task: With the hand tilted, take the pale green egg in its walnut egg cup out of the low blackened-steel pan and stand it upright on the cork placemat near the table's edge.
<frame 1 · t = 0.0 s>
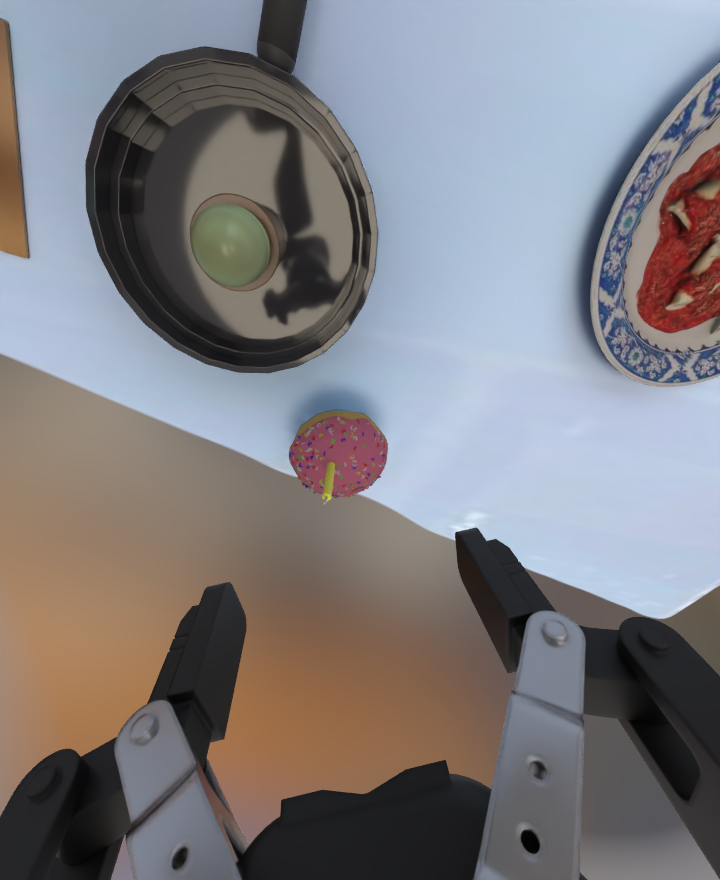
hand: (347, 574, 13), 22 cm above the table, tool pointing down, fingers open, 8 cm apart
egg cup: (250, 240, 25), point 1 cm above the table, touching pan
cupcake: (335, 429, 35), on the table
ceramic plate: (719, 236, 31), on the table
pan: (251, 239, 26), on the table
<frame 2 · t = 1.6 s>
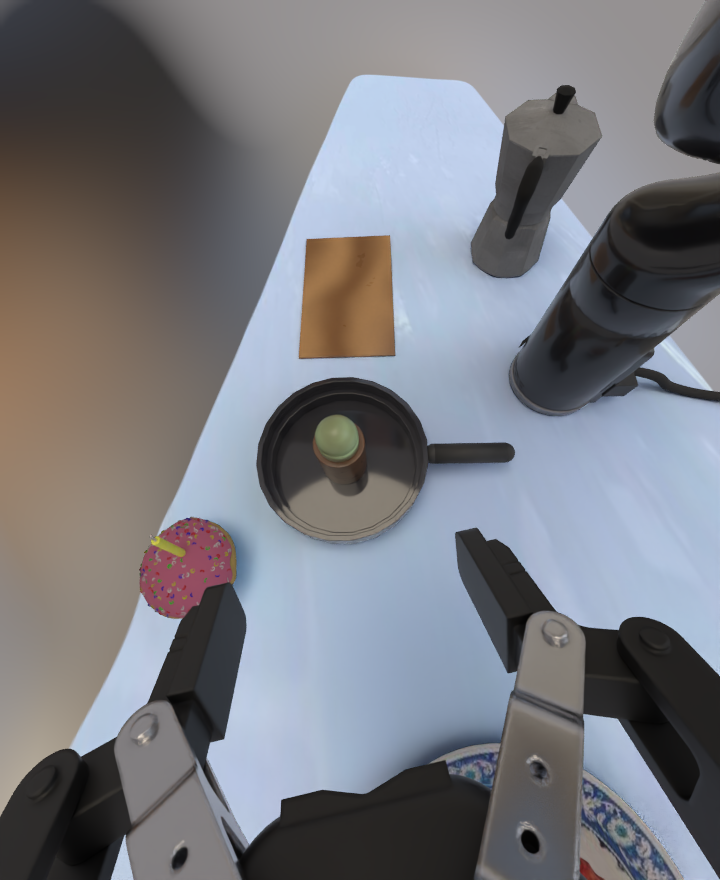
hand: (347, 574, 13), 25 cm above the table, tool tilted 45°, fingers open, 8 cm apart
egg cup: (344, 463, 39), point 1 cm above the table, touching pan
coffeepot: (500, 260, 49), on the table
cupcake: (212, 567, 37), on the table
placemat: (347, 293, 48), on the table
pan: (345, 465, 40), on the table
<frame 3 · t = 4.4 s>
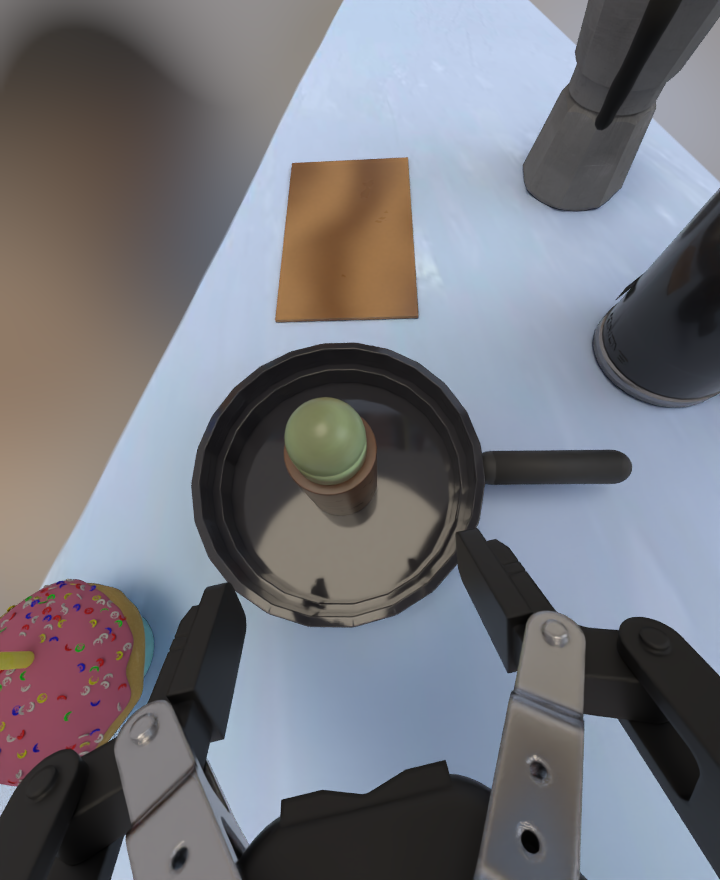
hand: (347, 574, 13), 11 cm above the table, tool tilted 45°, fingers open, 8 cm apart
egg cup: (341, 480, 24), point 1 cm above the table, touching pan
coffeepot: (565, 188, 35), on the table
cupcake: (120, 654, 22), on the table
placemat: (348, 233, 34), on the table
pan: (343, 483, 25), on the table
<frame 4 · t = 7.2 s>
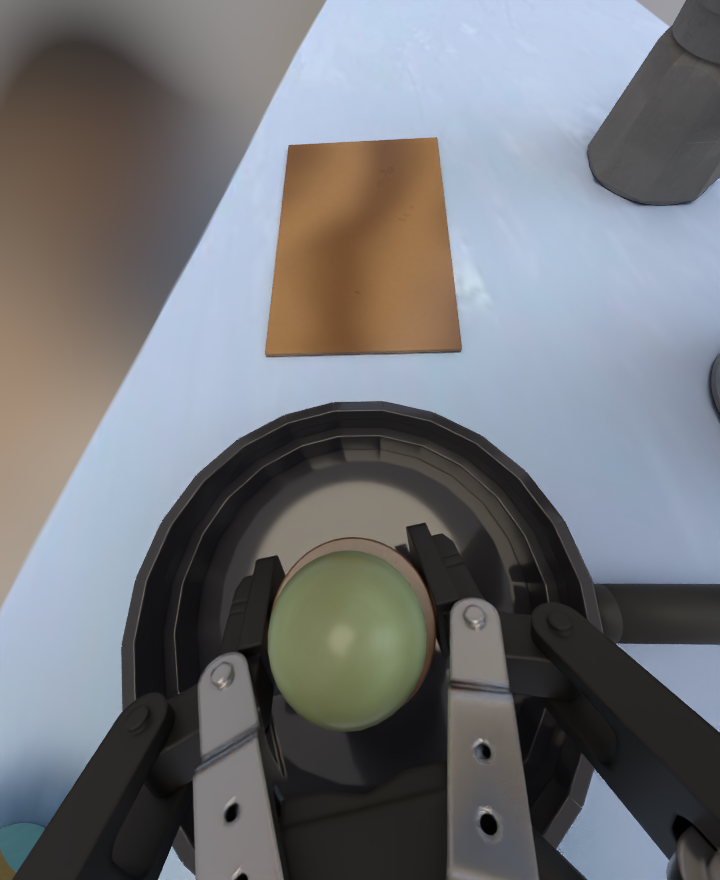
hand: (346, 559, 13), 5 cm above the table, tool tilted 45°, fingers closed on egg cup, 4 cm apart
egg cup: (361, 605, 16), point 1 cm above the table, touching gripper, pan
coffeepot: (644, 176, 26), on the table
placemat: (362, 235, 25), on the table
pan: (362, 603, 17), on the table
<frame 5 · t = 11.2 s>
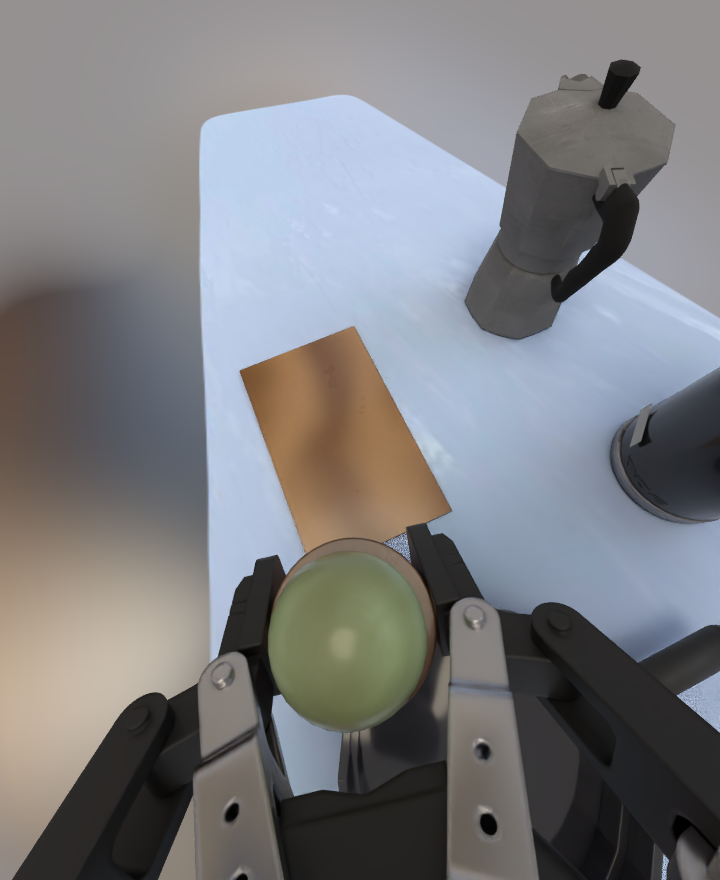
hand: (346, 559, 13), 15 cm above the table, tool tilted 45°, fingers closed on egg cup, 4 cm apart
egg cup: (361, 605, 16), point 12 cm above the table, touching gripper
coffeepot: (511, 312, 36), on the table
placemat: (336, 435, 32), on the table
pan: (474, 743, 24), on the table
when the fingers open (4 cm above the table, at t = 15.5 s): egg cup stays where it is, resting on placemat.
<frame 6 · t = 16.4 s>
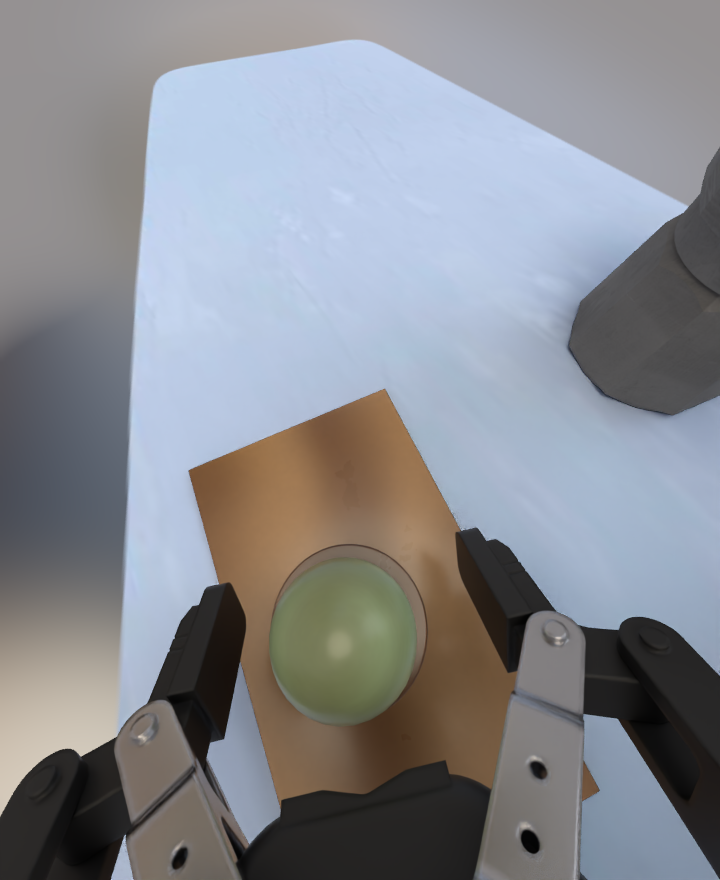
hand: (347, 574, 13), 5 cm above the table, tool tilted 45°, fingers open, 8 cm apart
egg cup: (358, 607, 17), resting on placemat
coffeepot: (647, 364, 21), on the table
placemat: (360, 603, 17), on the table
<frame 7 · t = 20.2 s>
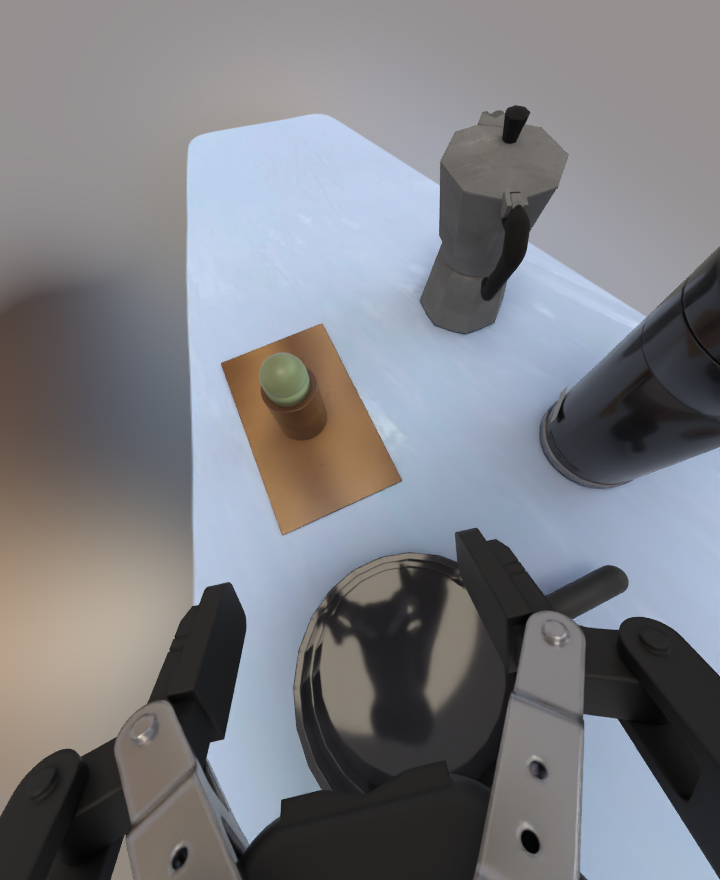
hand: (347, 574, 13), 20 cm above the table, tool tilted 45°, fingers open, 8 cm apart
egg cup: (303, 418, 36), resting on placemat
coffeepot: (461, 310, 40), on the table
placemat: (305, 418, 36), on the table
pan: (413, 669, 28), on the table
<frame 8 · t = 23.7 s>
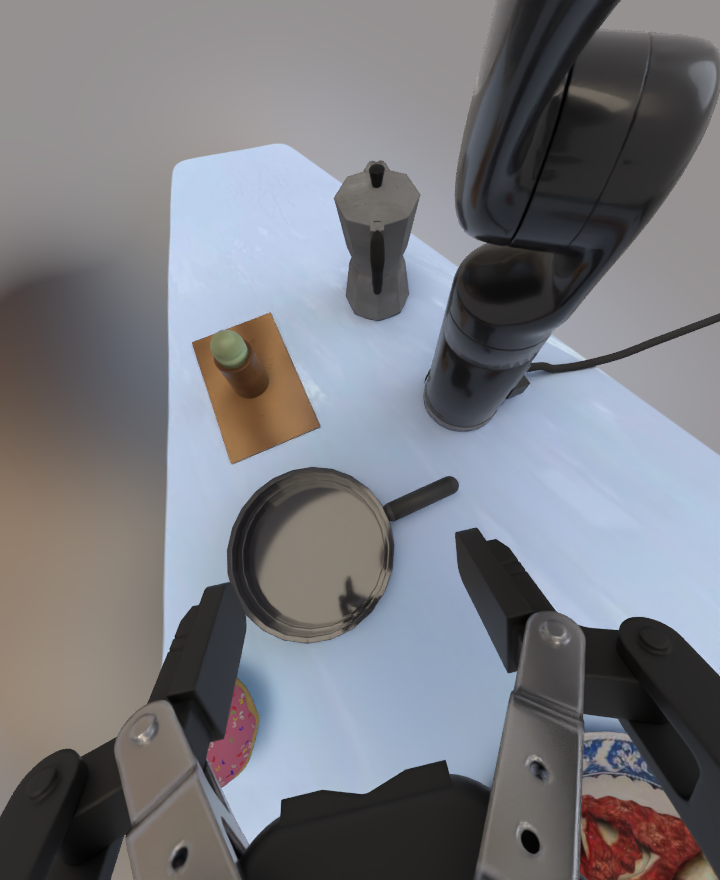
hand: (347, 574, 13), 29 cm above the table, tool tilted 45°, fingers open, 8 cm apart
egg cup: (251, 382, 48), resting on placemat
coffeepot: (377, 303, 53), on the table
cupcake: (229, 711, 36), on the table
placemat: (253, 382, 49), on the table
pan: (316, 550, 40), on the table
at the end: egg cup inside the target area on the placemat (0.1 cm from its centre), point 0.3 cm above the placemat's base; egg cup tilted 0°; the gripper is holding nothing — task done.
